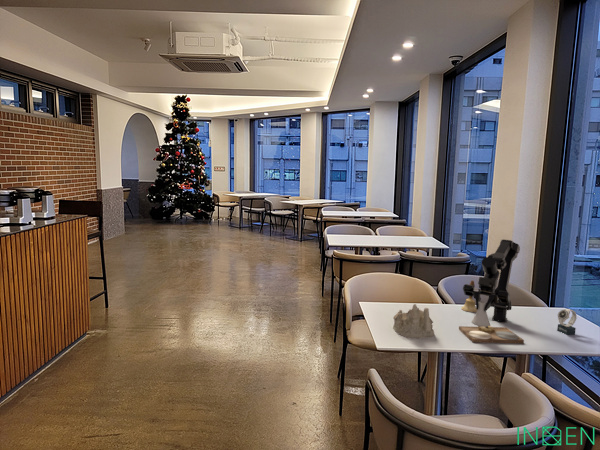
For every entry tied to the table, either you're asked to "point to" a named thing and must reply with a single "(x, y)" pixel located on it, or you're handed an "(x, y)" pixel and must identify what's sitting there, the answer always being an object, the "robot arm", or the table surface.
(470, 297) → the hand bell
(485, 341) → the gear board
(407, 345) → the table surface
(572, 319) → the watch
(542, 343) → the table surface
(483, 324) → the flask
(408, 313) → the ceramic cottage
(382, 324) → the table surface
